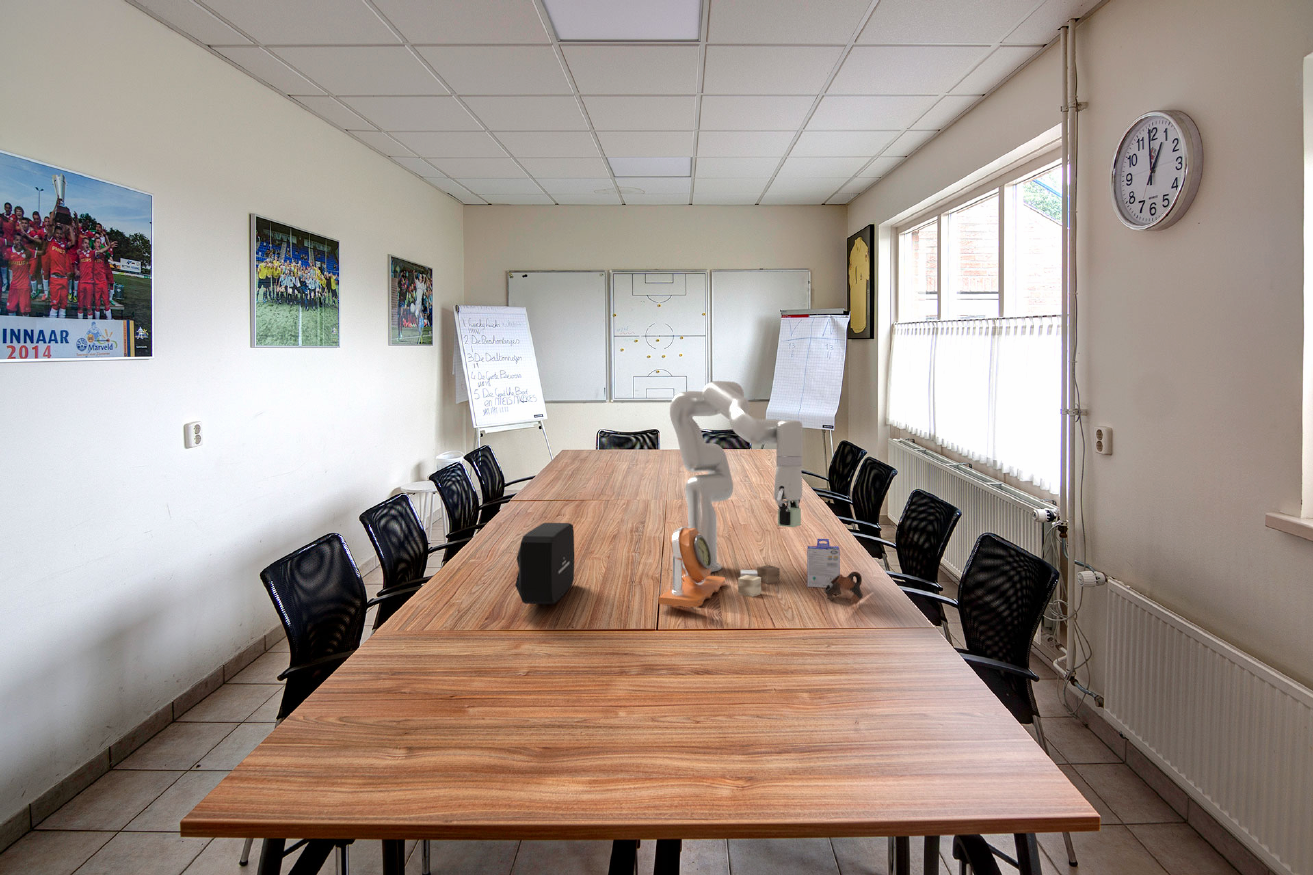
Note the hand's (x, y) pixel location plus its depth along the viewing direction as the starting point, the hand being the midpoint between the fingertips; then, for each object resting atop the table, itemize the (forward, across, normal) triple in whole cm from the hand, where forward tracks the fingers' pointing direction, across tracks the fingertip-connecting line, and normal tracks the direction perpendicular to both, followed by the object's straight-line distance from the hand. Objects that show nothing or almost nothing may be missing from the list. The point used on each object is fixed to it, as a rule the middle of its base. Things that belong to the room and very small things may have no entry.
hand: (789, 522), depth 209 cm
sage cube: (+1, 0, 0) cm, 1 cm away
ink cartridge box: (+22, -16, +4) cm, 27 cm away
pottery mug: (+21, -6, +19) cm, 29 cm away
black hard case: (+22, +42, -60) cm, 76 cm away
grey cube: (+22, -1, -14) cm, 26 cm away
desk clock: (+22, +16, -23) cm, 35 cm away
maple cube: (+22, +6, -10) cm, 24 cm away
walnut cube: (+22, -10, -12) cm, 27 cm away
